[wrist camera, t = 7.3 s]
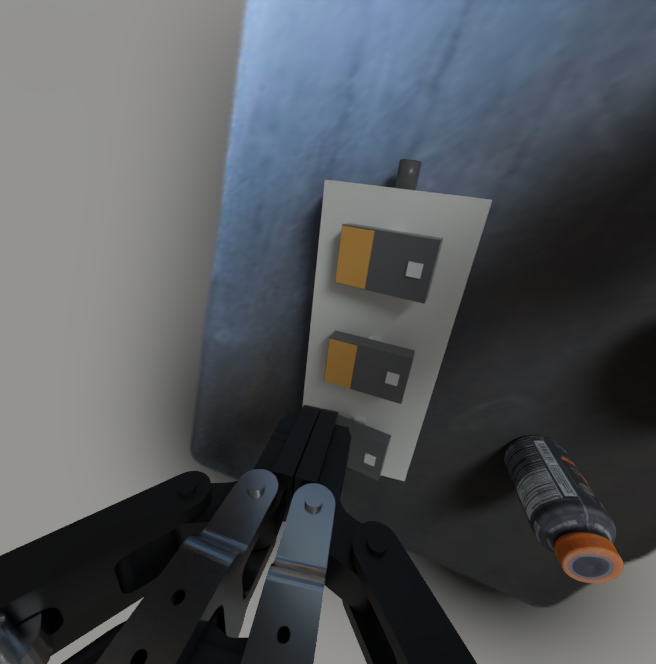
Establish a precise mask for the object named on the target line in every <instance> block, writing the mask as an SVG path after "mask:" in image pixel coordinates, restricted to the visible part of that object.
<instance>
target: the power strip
mask: <svg viewBox="0 0 656 664" xmlns="http://www.w3.org/2000/svg"><path fill="white" fill-rule="evenodd" d="M420 167H421V162H420V161H416V160H406V159H402V160H400V163H399V168H398V174H397V179H396V184H395V188H390V187H382V186H374V185H365V184H357V183H349V182H341V181H332V180H325V184H324V194H323V204H322V215H321V225H320V235H319V245H318V255H317V265H316V275H315V285H314V295H313V305H312V315H311V325H310V336H309V346H308V356H307V366H306V376H305V386H304V396H303V406H304V405H309V406H314V407H318V408H321V409H322V408H323V409H328V410H332V411H337V412H339V415H341V416H344V417H346V418H349V419H351V420H354V421H356V422H359V423H361V424H364V425H366V426H369V427H371V428H374V429H376V430H379V431H381V432H384V433H386V434H389V435H391V439H390V443H389V447H388V450H387V454H386V458H385V462H384V466H383V469H382V472H381V475H382V476H386V477H390V478H394V479H398V480H402V481H405V478H406V475H407V472H408V468H409V465H410V462H411V459H412V456H413V452H414V449H415V446H416V443H417V440H418V436H419V433H420V430H421V427H422V424H423V420H424V417H425V414H426V411H427V408H428V404H429V401H430V398H431V395H432V392H433V388H434V385H435V382H436V379H437V376H438V372H439V369H440V366H441V363H442V360H443V356H444V353H445V350H446V347H447V344H448V340H449V337H450V334H451V331H452V328H453V324H454V321H455V318H456V315H457V312H458V308H459V305H460V302H461V299H462V296H463V292H464V289H465V286H466V283H467V280H468V276H469V273H470V270H471V267H472V264H473V260H474V257H475V254H476V251H477V248H478V244H479V241H480V238H481V235H482V232H483V228H484V225H485V222H486V219H487V216H488V212H489V209H490V206H491V203H492V200H489V199H481V198H473V197H465V196H456V195H448V194H440V193H432V192H423V191H415V190H416V186H417V181H418V176H419V171H420ZM348 223H352V224H358V225H364V226H370V227H376V228H383V229H389V230H395V231H401V232H407V233H414V234H420V235H426V236H432V237H438V238H443V242H442V246H441V249H440V253H439V257H438V261H437V265H436V268H435V272H434V276H433V280H432V283H431V287H430V291H429V295H428V298H427V300H426V302H425V304H423V303H419V302H415V301H410V300H406V299H402V298H398V297H393V296H389V295H385V294H381V293H377V292H372V291H368V290H364V289H360V288H356V287H351V286H347V285H343V284H339V283H335V278H336V270H337V262H338V254H339V246H340V238H341V230H342V224H348ZM335 330H336V331H340V332H344V333H348V334H352V335H356V336H360V337H364V338H368V339H372V340H376V341H380V342H384V343H388V344H392V345H395V346H399V347H403V348H407V349H411V350H415V354H414V358H413V362H412V366H411V370H410V373H409V377H408V381H407V385H406V388H405V392H404V396H403V400H402V403H401V404H399V403H395V402H392V401H389V400H386V399H382V398H379V397H376V396H372V395H369V394H366V393H362V392H359V391H356V390H352V389H348V388H344V387H341V386H338V385H335V384H331V383H328V382H325V381H324V374H325V367H326V359H327V351H328V343H329V337H330V336H331V335H332V334H333V332H334V331H335ZM303 406H302V408H303Z"/></svg>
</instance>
